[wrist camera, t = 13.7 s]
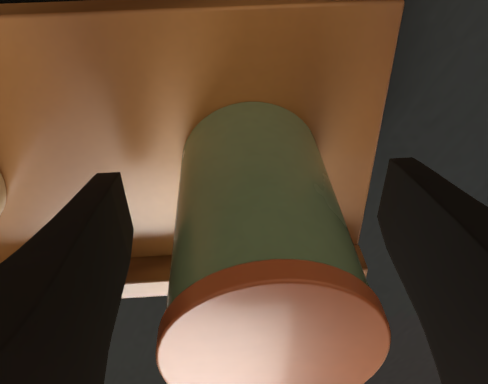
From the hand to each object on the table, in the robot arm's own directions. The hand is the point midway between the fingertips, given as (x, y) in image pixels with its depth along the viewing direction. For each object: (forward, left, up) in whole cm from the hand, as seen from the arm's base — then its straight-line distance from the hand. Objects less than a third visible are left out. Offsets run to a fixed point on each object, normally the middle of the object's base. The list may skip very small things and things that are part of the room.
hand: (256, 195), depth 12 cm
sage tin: (0, 0, -2) cm, 2 cm away
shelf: (+1, +5, -6) cm, 7 cm away
